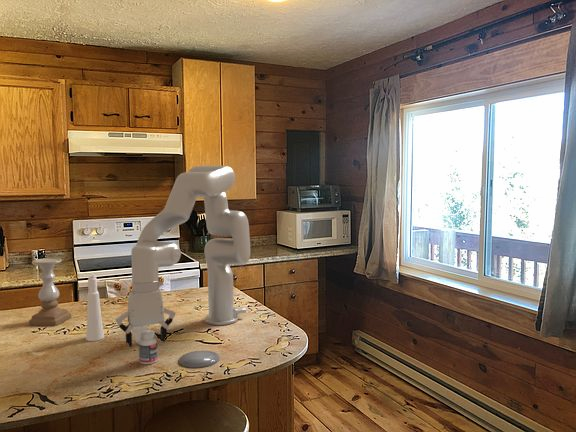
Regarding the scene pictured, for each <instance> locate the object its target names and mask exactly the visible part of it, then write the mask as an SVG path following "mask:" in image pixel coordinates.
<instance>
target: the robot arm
mask: <svg viewBox="0 0 576 432" xmlns="http://www.w3.org/2000/svg"><path fill="white" fill-rule="evenodd" d="M235 181H236V175H235V171H234V170H233V168H232V167H230V166H228V165H196V166H193V167H191V168H190V169H189V170H188V171H185V172H181V173H180V174H179V175H177V177H176V179H175V181H174V184H173V186H172V189H171V191H170V193H169V196H168V199H167V201H166V204H165V206H164V208H163V210H161V211H160V212H159V213H157V215H155V216H154V217H153V218H152V219H151V220H150V221H149V222H148V223H146V224H145V226H144V227H143V229H142V230H141V232H140V234H139V237H138V239H137V242H136V245H135V246H133V247H132V248H131V280H132V281H131V283H132V284H131V285H132V286H131V288H132V289H131V290H130V291H129V293H128V298H127V299H128V300H127V311H126V312H124V313H123V314H121V315H119V316H118V317H116V318H115V322H116V324H117V325H118V327H119V328H120V330H122V331H123V332H124V333H125V343H126V344H128V347H129V348H131V347H132V346H133V334H132V332H131V331H132V329H133V327H134V326H143V325H149V326H150V325H156V324H157V325H158V324H160V325H161V327H160V340H161V341H162V342H163V343H165V342H166V338H167V337H168V331H167V330H168V328H169V325H171V324H172V322H173V320H174V319H175V316H176V314H177V313H176V312H175V311H174V310H171V309H169V308H166V307H164V300H163V296H162V295H163V294H162V291H161V288H160V287H163V286H164V281H162V280H159V268H163V267H164V268H165V267H166V268H167V267H171V266H174V265H176V264H177V263H179V261H180V259H181V256H182V251H181V249H180V247H179V246H178V245H177V244H176V243H173V242H171V241H159V240H158V239H159V238H160V236H162V235H163V234H164V233H165V232H167V231H168V230H171V229H172V228H175V227H178V226H179V225H182V224H184V223H187V221H188V220H189V219H190V216H191V214H192V212H193V208H194V207H195V203H196V202H197V199H198V198H203V202H204V212H205V214H204V215H205V223H206V225H205V226H206V229H207V232H208V233H209V234H210V235H213V236H221V237H223V236H224V237H232V238H224V237H223V238H221V237H218V238H217V237H216V238H212V239H209V240H207V242H206V243H205V246H204V257H205V262H206V268H207V294H208V297H207V299H208V315H206V316H205V317H204V322H205V323H206V324H208V325H213V326H224V325H230V324H234V323H236V322H237V321H239V314H245V313H246V312H247V309H246V308H245V307H243V308H241V307H235V306H234V302H235V301H234V273H233V270H232V269H231V266H230V265H233V266H243V265H246V264H247V263H248V262H249V260H250V257H251V236H250V224H249V220H248V217H247V214H246V213H244V212H243V211H240V210H233V209H231V210H230V209H229V204H228V202H229V201H228V197H227V193H226V192H227V191H229V190H231V188H232V187H233V186H234V184H235ZM165 314H167V315H169V316H168V318H166V319H165ZM125 319H127V321H128V324H127V325H125V324H124V322H123V321H124V320H125Z"/></svg>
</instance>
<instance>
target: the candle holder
mask: <svg viewBox="0 0 576 432" xmlns="http://www.w3.org/2000/svg"><path fill="white" fill-rule="evenodd" d="M62 262H63V260H62V258H61V257H45V258H38V259H34V260H32V261H31V264H32V265H35V266H39V268H40V270H41V271H42V273H41V276H39V277H40V279H41V281H42V283H43V284H42V287H41V288H40V290H39V292H38V295H37V296H38V298H39V300H40V301H41V302H40V307H41V309H40V310H39V311H38V312H37V313H35V314H33V315H32V316H31V319H29V320H28V326H29V325H30V326H31V327H32V326H33V327H57V326H60V325H61V324H63V323H64V322H66V321H68V320H70V319H72V313H71V312H69V310H68V309H61V308H60V307H58V305H59V301H58V300H57V299H58V298H59V297H60V290H59V289H58V288H57V286H56V285H55V284H54V280H55V278H56V274H55V273H54V268H55V266H56V264H59V263H62Z"/></svg>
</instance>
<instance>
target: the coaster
mask: <svg viewBox="0 0 576 432" xmlns="http://www.w3.org/2000/svg"><path fill="white" fill-rule="evenodd" d="M178 360H179V361H178V363H179V365H180V366H182V367H185V368H190V369H200V368H207V367H210V366H212V365H215V364H217V363H218V362H219V361H220V355H219V354H218V353H217V352H214V351H211V350H194V351H189V352H186V353H183V354H182V355H181V356H180V357H179V359H178Z"/></svg>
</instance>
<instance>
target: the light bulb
mask: <svg viewBox="0 0 576 432" xmlns="http://www.w3.org/2000/svg"><path fill="white" fill-rule="evenodd" d="M149 326H150V325H143V326H134V327H133V329H132V330H131V331H132V332H133V335H134V338H135V339H134V340H135V343H136V344H137V345H139V341H140V340H141V333H142V332H144V331H148V330H147V329H148V328H149Z"/></svg>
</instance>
